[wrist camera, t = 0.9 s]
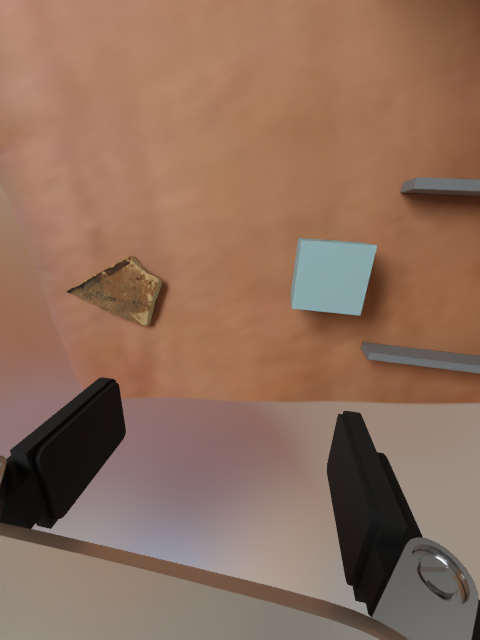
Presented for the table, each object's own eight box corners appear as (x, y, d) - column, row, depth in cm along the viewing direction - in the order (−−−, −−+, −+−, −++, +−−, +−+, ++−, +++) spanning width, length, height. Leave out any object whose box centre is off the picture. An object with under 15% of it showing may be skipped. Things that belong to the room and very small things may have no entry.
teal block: (298, 237, 26) (301, 240, 21) (359, 242, 25) (377, 245, 20) (290, 295, 28) (291, 308, 23) (347, 300, 27) (360, 315, 22)
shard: (75, 289, 32) (63, 292, 31) (85, 231, 30) (73, 231, 28) (151, 325, 32) (144, 330, 31) (168, 270, 30) (161, 272, 28)
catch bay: (403, 182, 23) (416, 177, 20) (582, 189, 21) (619, 184, 18) (360, 348, 28) (367, 359, 26) (498, 365, 27) (518, 378, 24)
